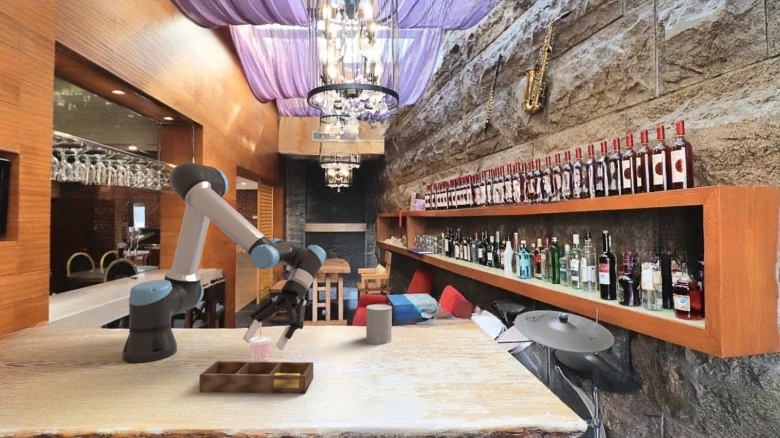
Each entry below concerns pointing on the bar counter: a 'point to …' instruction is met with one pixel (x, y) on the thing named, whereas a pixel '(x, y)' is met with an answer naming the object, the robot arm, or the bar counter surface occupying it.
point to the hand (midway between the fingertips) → (261, 344)
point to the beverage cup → (260, 347)
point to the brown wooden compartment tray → (257, 377)
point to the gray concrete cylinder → (379, 324)
